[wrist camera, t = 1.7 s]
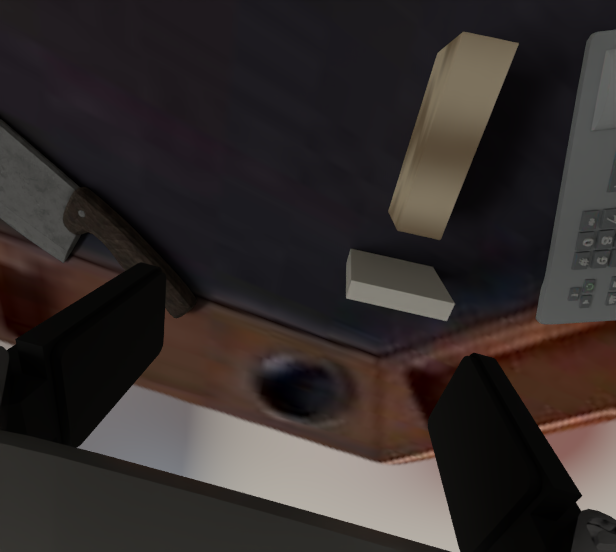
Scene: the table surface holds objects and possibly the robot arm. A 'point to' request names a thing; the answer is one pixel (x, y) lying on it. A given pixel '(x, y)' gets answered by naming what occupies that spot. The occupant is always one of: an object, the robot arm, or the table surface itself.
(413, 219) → the tan wooden block
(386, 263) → the tile
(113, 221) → the cleaver
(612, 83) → the office telephone
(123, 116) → the table surface
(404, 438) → the table surface
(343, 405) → the table surface
